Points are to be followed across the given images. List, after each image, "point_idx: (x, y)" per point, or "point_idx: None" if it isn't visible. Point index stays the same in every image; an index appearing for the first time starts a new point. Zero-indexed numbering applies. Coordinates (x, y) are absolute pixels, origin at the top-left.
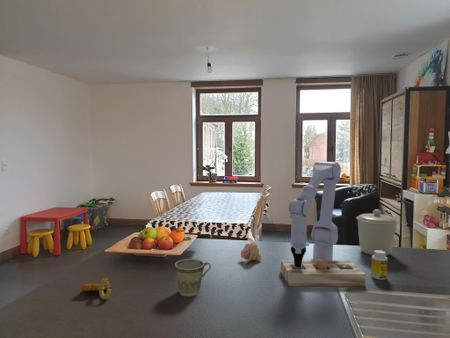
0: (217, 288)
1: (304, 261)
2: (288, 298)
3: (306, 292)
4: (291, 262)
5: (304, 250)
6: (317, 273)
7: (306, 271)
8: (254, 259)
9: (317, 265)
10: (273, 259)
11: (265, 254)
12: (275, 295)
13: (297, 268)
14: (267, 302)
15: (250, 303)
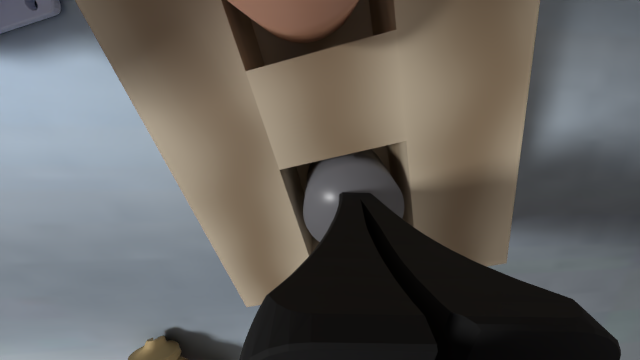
0: None
1: (189, 153)
2: (600, 212)
3: (548, 123)
4: (262, 251)
5: (558, 356)
6: (521, 28)
7: (459, 143)
8: (180, 357)
9: (353, 7)
10: (102, 287)
11: (53, 319)
12: (555, 260)
13: (402, 214)
14: (613, 281)
15: (603, 323)
